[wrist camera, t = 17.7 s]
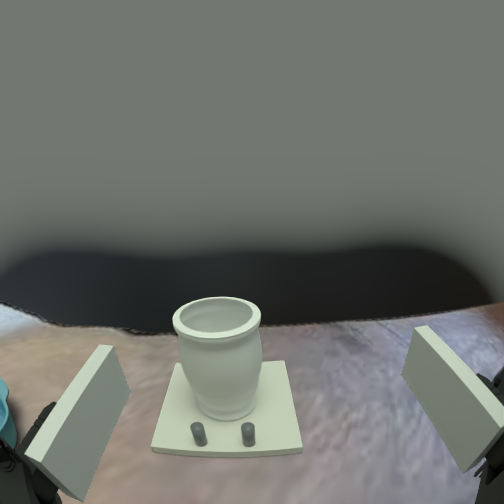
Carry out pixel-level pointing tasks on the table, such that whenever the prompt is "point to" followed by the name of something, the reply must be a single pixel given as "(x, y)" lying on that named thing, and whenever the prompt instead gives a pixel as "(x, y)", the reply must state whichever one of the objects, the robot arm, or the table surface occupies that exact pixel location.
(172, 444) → the tray
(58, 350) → the table surface
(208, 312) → the jar
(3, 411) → the casserole dish
